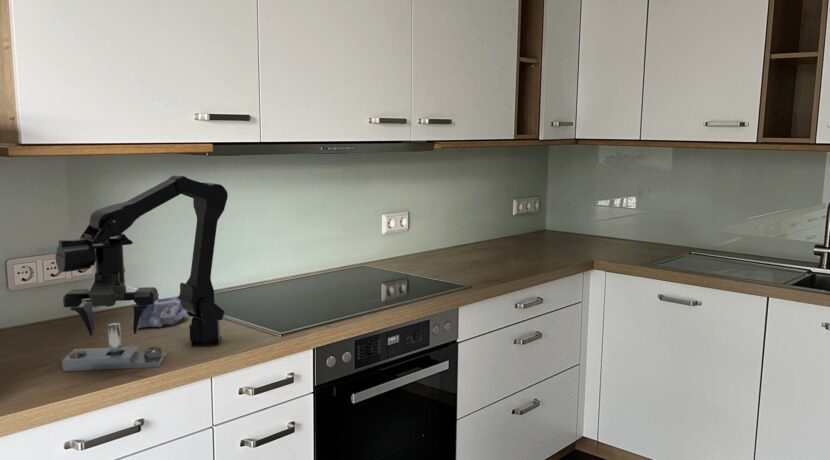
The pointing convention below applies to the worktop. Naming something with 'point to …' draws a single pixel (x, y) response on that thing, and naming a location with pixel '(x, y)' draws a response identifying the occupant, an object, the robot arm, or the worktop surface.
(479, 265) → the worktop surface
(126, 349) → the grey bolted bracket plate
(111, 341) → the pin
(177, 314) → the mineral
